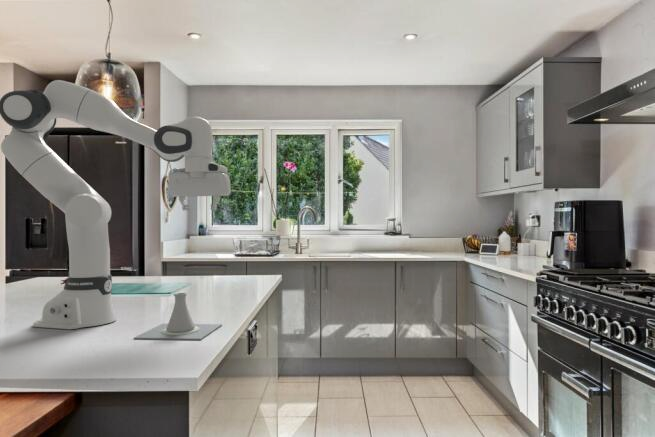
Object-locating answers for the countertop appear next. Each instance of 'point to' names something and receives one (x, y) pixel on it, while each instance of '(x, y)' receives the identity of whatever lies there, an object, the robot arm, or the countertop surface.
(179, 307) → the flask
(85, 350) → the countertop surface
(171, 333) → the card
